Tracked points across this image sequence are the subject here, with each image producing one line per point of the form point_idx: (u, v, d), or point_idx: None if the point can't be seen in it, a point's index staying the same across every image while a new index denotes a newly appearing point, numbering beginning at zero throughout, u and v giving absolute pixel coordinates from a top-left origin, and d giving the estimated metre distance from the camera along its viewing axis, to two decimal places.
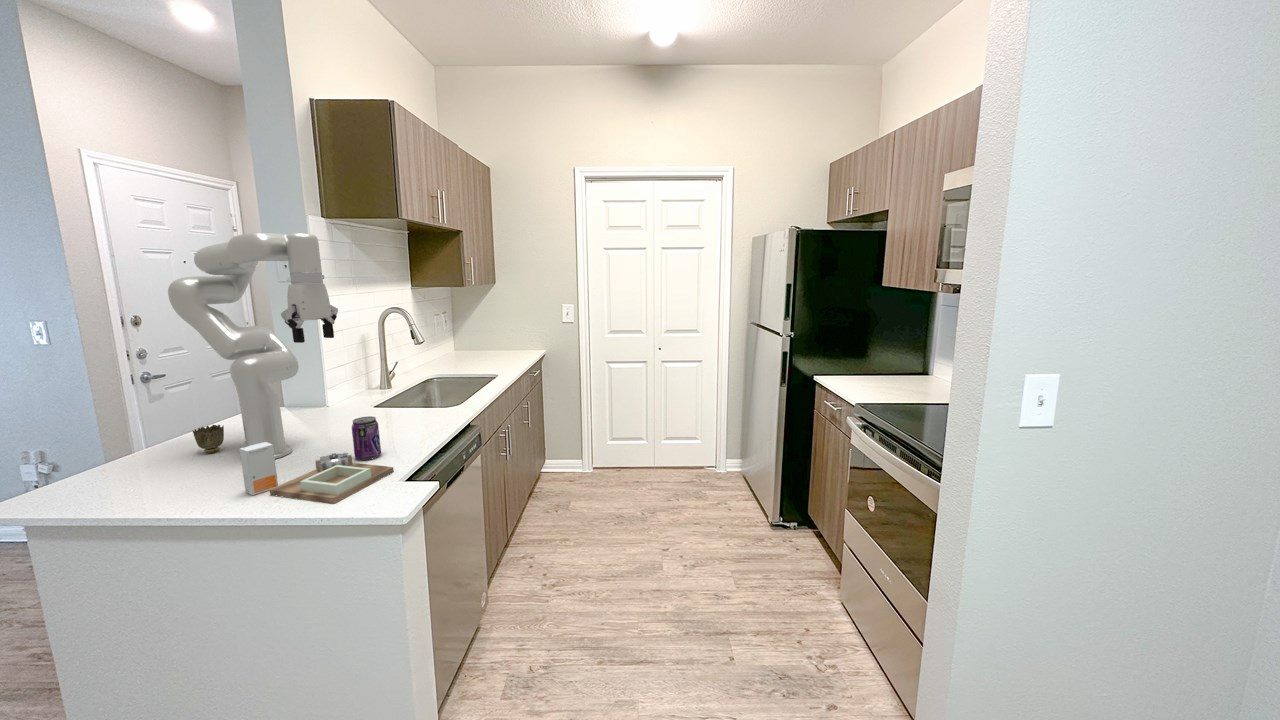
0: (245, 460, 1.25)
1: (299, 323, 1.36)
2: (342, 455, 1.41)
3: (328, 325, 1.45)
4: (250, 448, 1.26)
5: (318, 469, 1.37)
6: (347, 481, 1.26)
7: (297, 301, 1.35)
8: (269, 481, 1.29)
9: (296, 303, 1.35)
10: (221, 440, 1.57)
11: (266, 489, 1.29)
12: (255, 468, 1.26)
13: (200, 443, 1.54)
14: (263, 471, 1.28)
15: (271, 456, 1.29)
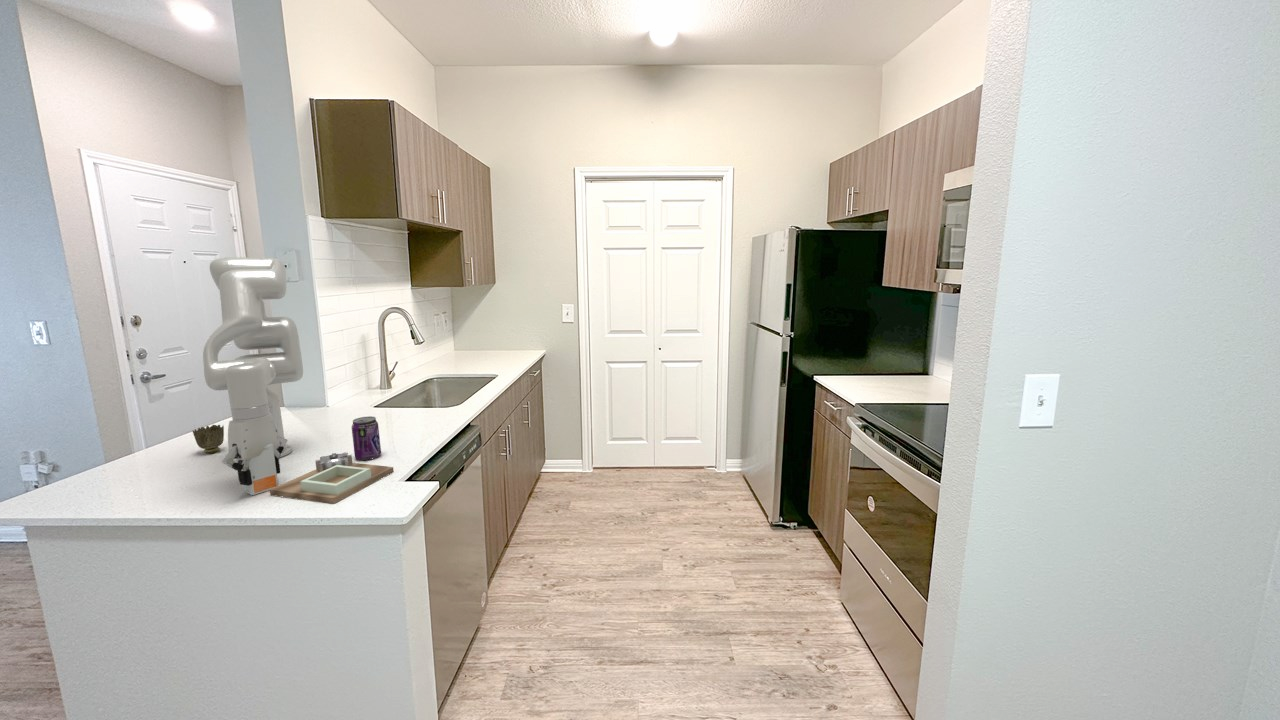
0: None
1: (245, 465, 1.24)
2: (342, 455, 1.41)
3: None
4: None
5: (318, 469, 1.37)
6: (347, 481, 1.26)
7: (238, 441, 1.22)
8: (269, 481, 1.29)
9: (237, 443, 1.22)
10: (221, 440, 1.57)
11: (266, 489, 1.29)
12: (255, 468, 1.26)
13: (200, 443, 1.54)
14: (263, 471, 1.28)
15: (271, 456, 1.29)
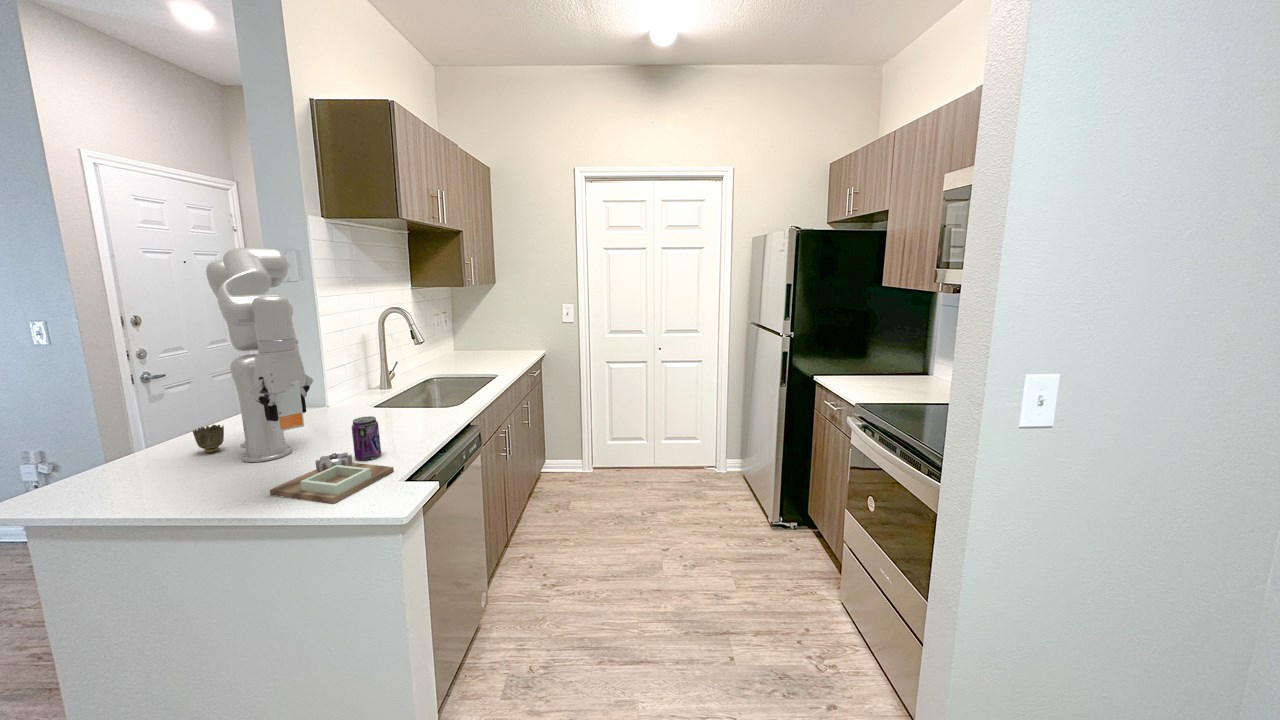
0: None
1: (271, 400, 1.21)
2: (342, 455, 1.41)
3: None
4: None
5: (318, 469, 1.37)
6: (347, 481, 1.26)
7: (265, 373, 1.19)
8: (295, 419, 1.26)
9: (263, 376, 1.19)
10: (221, 440, 1.57)
11: (292, 427, 1.26)
12: (281, 403, 1.23)
13: (200, 443, 1.54)
14: (289, 408, 1.25)
15: (297, 393, 1.26)
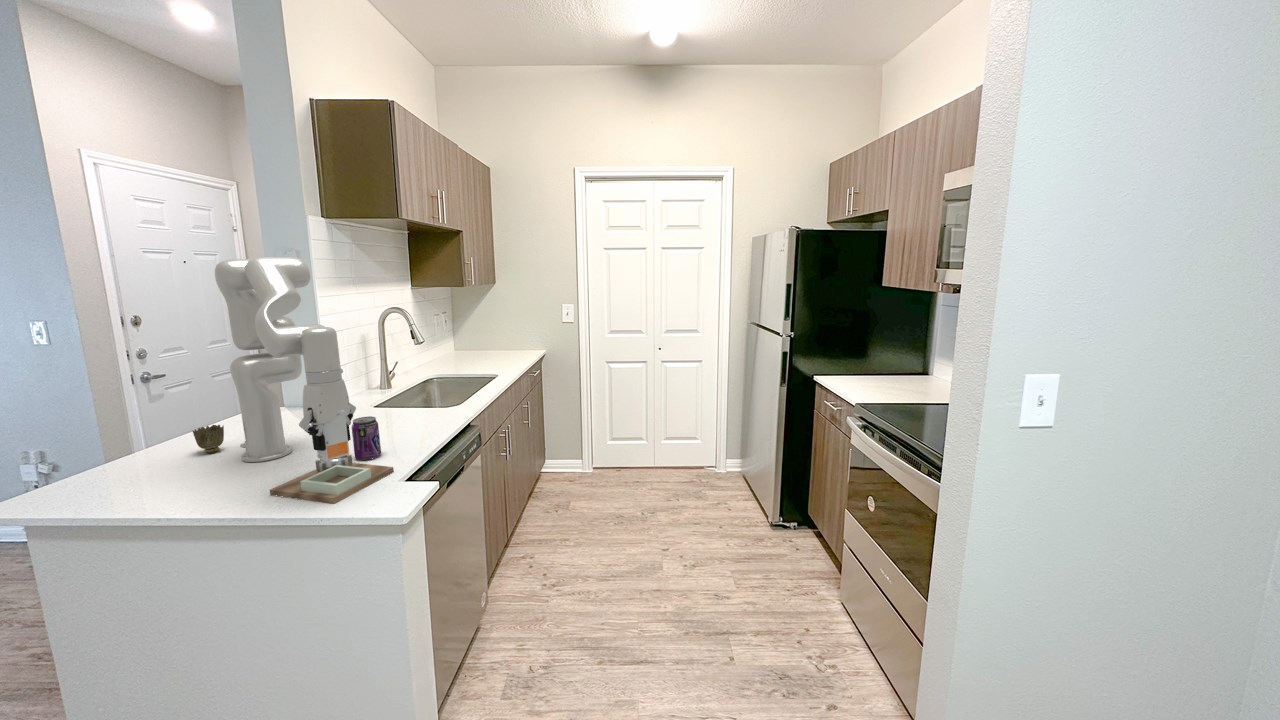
0: None
1: (319, 430, 1.22)
2: None
3: None
4: None
5: (318, 469, 1.37)
6: (347, 481, 1.26)
7: (314, 404, 1.21)
8: (341, 448, 1.28)
9: (312, 407, 1.21)
10: (221, 440, 1.57)
11: (338, 455, 1.27)
12: (328, 433, 1.24)
13: (200, 443, 1.54)
14: (336, 437, 1.26)
15: (343, 422, 1.27)
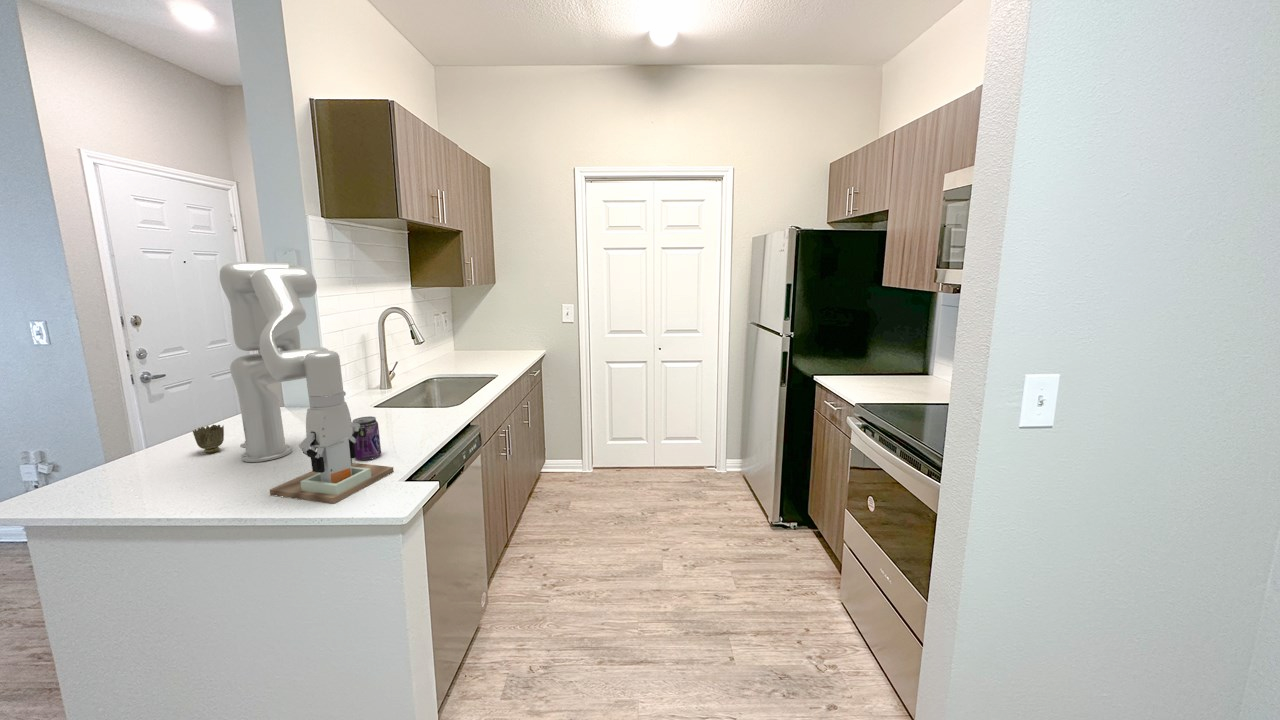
0: (323, 453, 1.25)
1: (319, 452, 1.22)
2: None
3: (349, 445, 1.32)
4: None
5: None
6: (347, 481, 1.26)
7: (317, 428, 1.22)
8: (345, 474, 1.29)
9: (316, 430, 1.22)
10: (221, 440, 1.57)
11: None
12: (332, 461, 1.26)
13: (200, 443, 1.54)
14: (339, 464, 1.28)
15: (347, 449, 1.29)
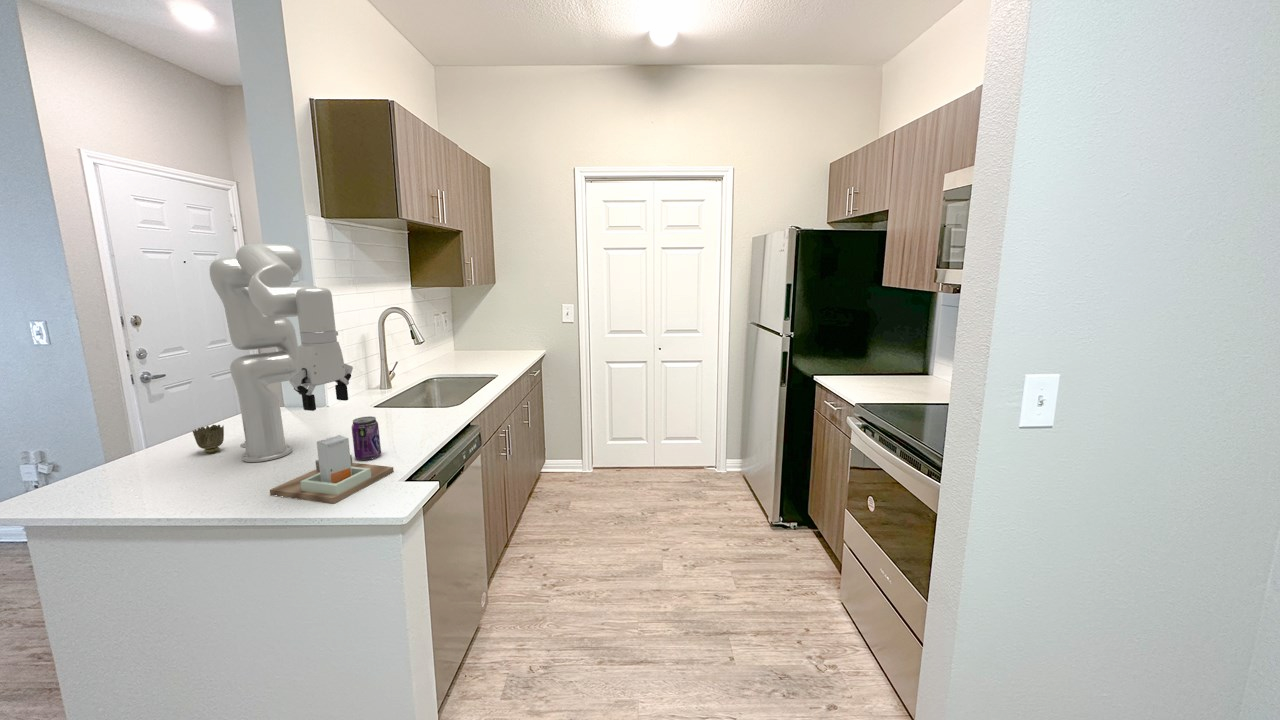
0: (323, 453, 1.25)
1: (310, 389, 1.20)
2: None
3: (342, 386, 1.30)
4: (327, 441, 1.26)
5: (318, 469, 1.37)
6: (347, 481, 1.26)
7: (308, 365, 1.20)
8: (345, 474, 1.29)
9: (307, 367, 1.20)
10: (221, 440, 1.57)
11: None
12: (332, 461, 1.26)
13: (200, 443, 1.54)
14: (339, 464, 1.28)
15: (347, 449, 1.29)
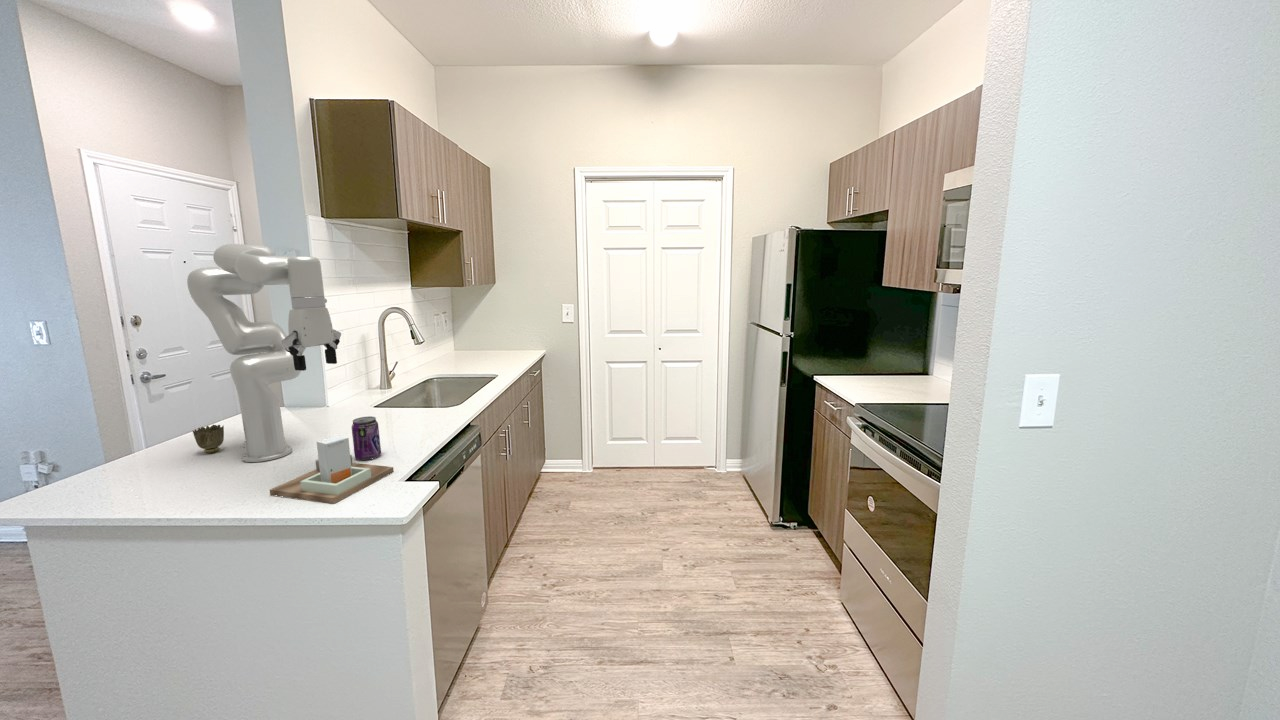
0: (323, 453, 1.25)
1: (300, 350, 1.30)
2: None
3: (331, 350, 1.39)
4: (327, 441, 1.26)
5: (318, 469, 1.37)
6: (347, 481, 1.26)
7: (298, 327, 1.29)
8: (345, 474, 1.29)
9: (297, 329, 1.29)
10: (221, 440, 1.57)
11: None
12: (332, 461, 1.26)
13: (200, 443, 1.54)
14: (339, 464, 1.28)
15: (347, 449, 1.29)
